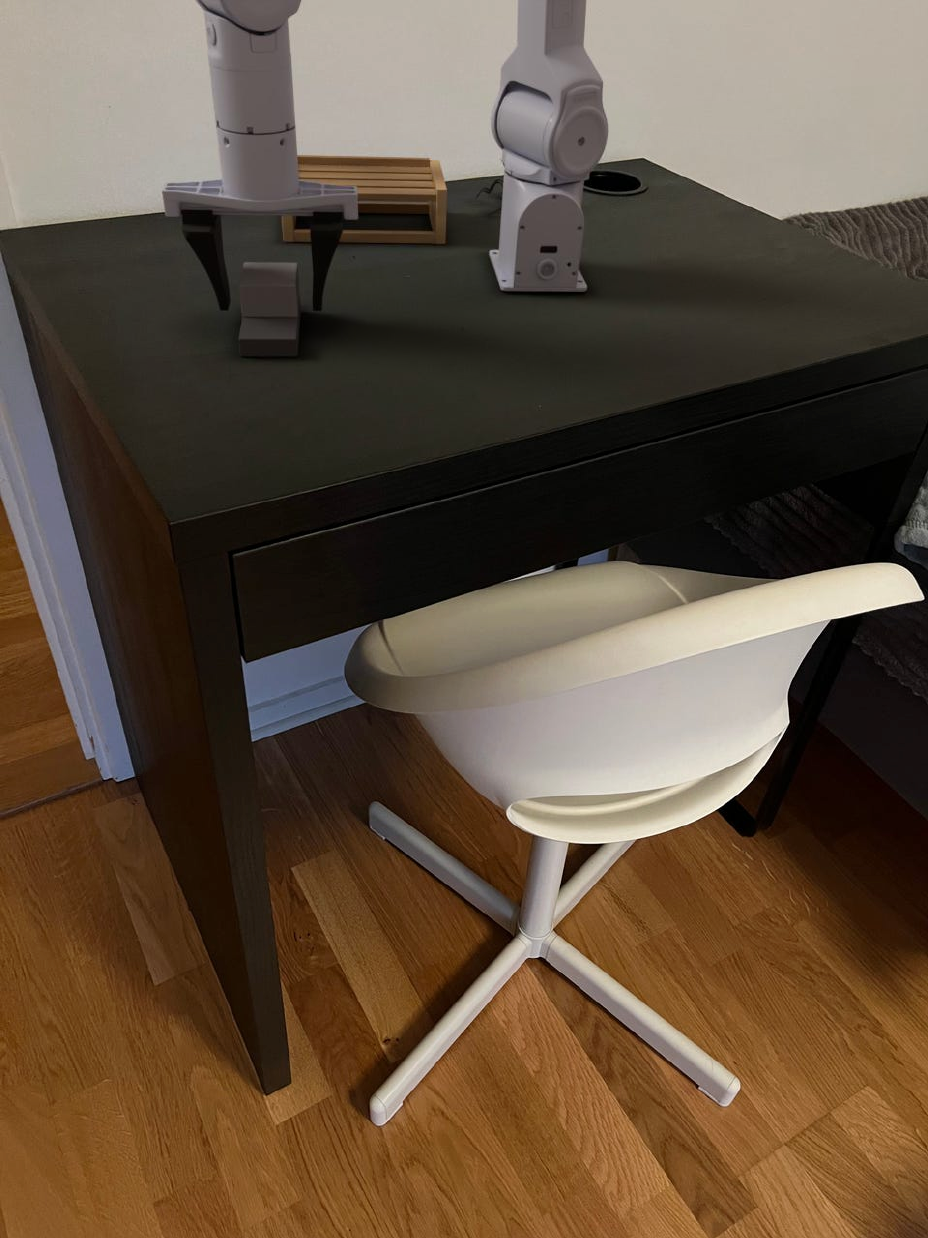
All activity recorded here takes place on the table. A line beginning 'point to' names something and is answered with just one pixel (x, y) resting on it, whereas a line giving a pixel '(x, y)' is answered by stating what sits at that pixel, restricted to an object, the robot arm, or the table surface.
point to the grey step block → (269, 309)
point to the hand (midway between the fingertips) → (271, 305)
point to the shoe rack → (380, 194)
